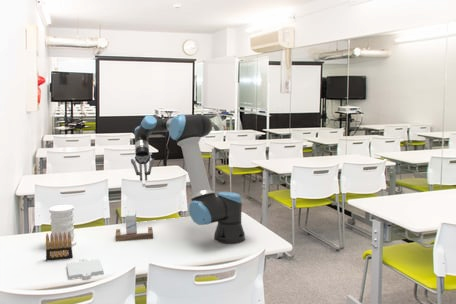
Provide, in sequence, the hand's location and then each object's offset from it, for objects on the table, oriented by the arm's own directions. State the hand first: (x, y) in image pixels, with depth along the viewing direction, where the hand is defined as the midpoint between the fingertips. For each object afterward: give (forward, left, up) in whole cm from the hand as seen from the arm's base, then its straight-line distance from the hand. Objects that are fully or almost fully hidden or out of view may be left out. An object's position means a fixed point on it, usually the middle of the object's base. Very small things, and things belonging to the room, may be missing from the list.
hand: (143, 185), depth 229 cm
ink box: (-14, +7, -23) cm, 28 cm away
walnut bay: (-15, +6, -23) cm, 28 cm away
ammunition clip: (-38, +38, -23) cm, 58 cm away
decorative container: (-20, +39, -23) cm, 49 cm away
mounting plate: (-53, +26, -23) cm, 63 cm away
